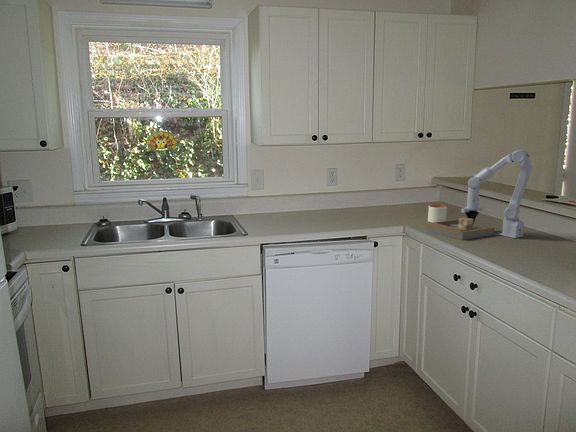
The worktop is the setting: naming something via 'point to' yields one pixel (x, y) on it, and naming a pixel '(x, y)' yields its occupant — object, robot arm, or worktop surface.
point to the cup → (437, 213)
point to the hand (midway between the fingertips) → (470, 224)
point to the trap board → (457, 230)
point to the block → (465, 223)
